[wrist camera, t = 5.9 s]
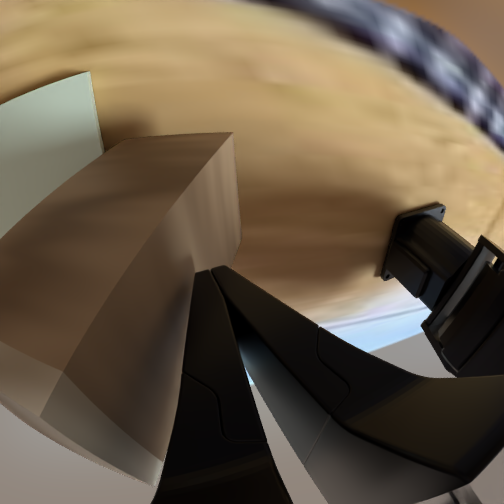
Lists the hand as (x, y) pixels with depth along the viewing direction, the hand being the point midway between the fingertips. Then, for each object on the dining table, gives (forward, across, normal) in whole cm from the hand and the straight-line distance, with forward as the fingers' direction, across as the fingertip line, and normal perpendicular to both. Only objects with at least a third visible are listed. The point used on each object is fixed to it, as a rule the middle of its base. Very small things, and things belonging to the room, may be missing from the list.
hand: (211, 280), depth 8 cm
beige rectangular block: (+6, 0, 0) cm, 6 cm away
